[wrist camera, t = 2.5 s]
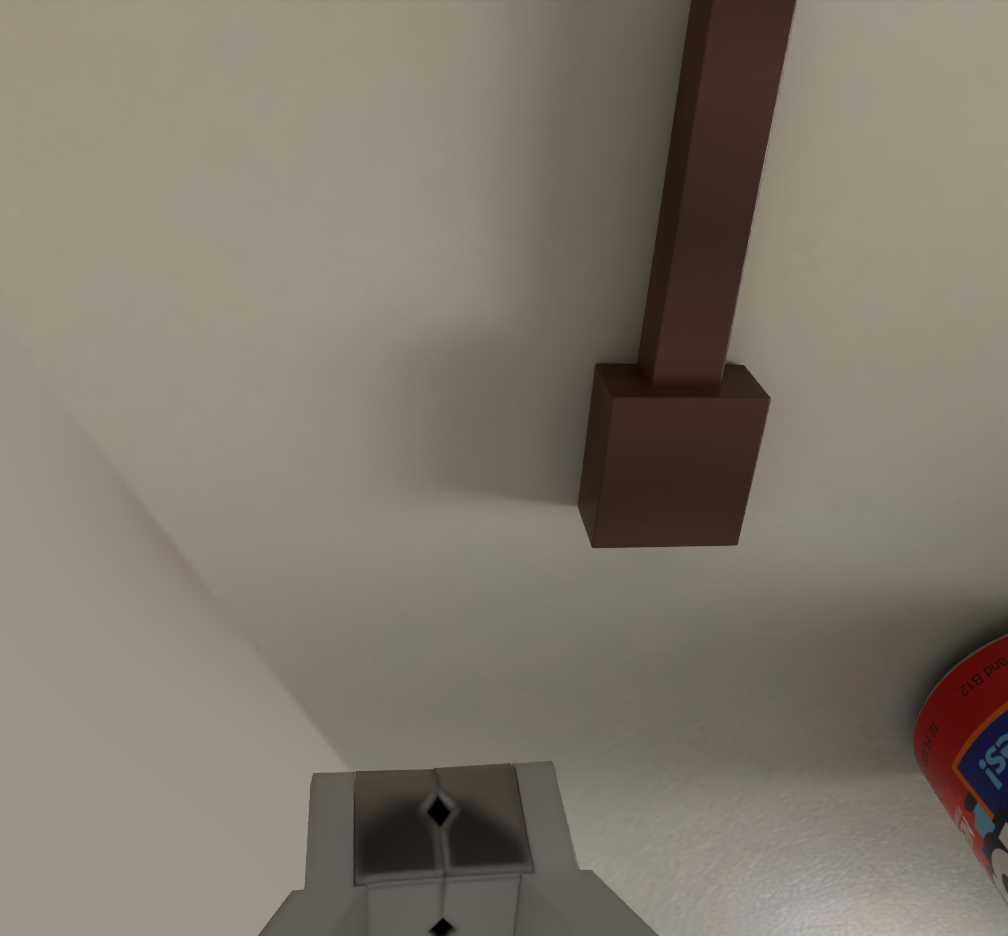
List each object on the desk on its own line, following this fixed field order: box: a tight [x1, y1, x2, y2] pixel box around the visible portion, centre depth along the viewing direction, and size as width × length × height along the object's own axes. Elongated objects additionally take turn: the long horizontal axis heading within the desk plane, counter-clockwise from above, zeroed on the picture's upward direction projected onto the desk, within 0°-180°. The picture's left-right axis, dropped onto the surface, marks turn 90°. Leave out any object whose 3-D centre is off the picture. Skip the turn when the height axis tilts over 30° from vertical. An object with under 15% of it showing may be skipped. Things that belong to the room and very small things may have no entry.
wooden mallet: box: [578, 0, 797, 548], centre depth 23 cm, size 13×4×2 cm, turn 176°
